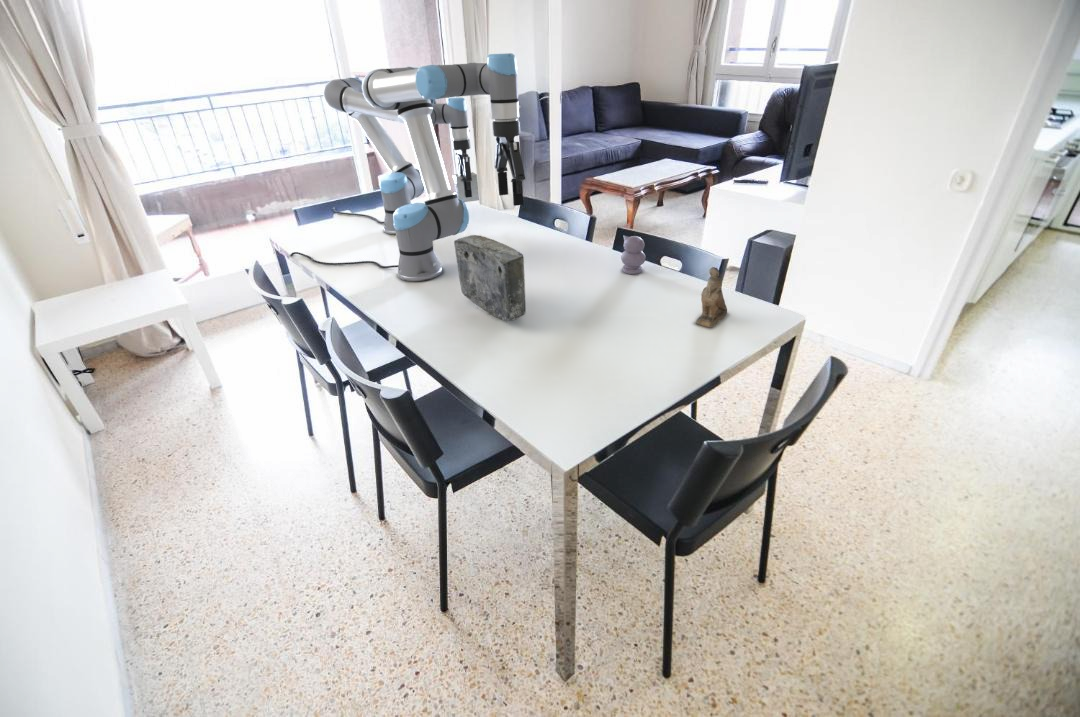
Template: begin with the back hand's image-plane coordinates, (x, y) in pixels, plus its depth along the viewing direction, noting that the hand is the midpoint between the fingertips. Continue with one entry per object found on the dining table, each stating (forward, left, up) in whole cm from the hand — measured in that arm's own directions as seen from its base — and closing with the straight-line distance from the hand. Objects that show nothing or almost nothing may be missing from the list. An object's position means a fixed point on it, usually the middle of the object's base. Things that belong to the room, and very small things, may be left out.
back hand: (466, 195), depth 220 cm
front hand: (+48, -65, +16) cm, 83 cm away
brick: (0, 0, -2) cm, 2 cm away
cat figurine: (+81, -40, -13) cm, 91 cm away
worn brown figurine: (+108, -70, -13) cm, 130 cm away
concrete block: (+47, -82, -13) cm, 95 cm away
